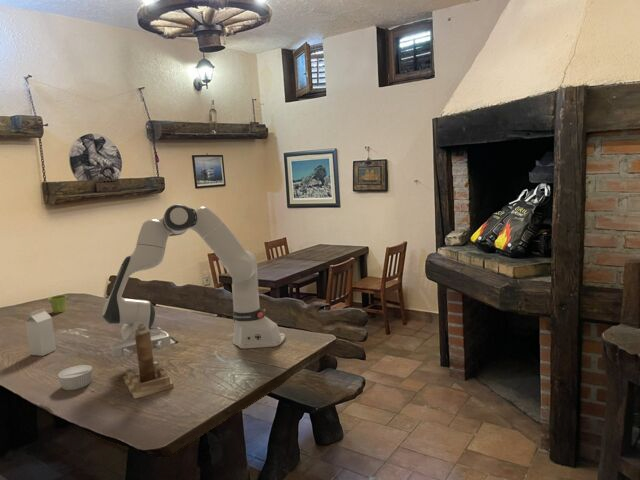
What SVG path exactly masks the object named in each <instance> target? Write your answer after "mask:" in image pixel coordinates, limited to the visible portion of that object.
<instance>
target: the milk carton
mask: <svg viewBox="0 0 640 480" xmlns="http://www.w3.org/2000/svg"><path fill="white" fill-rule="evenodd" d="M24 323H25V329H26V330H25V331H26V335H27V343H28V349H29V355H31V356H41V357H43V356H45V355H49V354H50V353H52V352H55V351H56V350H57V345H56V340H55V339H56V337H55V332H54V325H53V317H52V316H51V315H50V314H49V313H48V312H47V311H46V309H45V307H44V308H40V309H37V310H35V311H32V312H29V316H28V317H27V318H26V320H25V321H24Z"/></svg>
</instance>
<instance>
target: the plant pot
mask: <svg viewBox="0 0 640 480" xmlns="http://www.w3.org/2000/svg"><path fill="white" fill-rule="evenodd" d="M67 297H68V295H64V294H63V295H62V294H61V295H54V296H50V297H48V299H47V300H48V301H49V303H50V307H51V308H52V312H53V314H59V313H63V312H66V301H67Z"/></svg>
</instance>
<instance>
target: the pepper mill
mask: <svg viewBox="0 0 640 480" xmlns="http://www.w3.org/2000/svg"><path fill="white" fill-rule="evenodd" d="M135 332H136V334H135V340H136V348H137V353H136V355H137V357H136V358H137V363H138V373H139V374H140V382H142V383H144V382H148V381H151V380H155V371H154V362H155V361H154V354H153V349H152V345H151V336H150V332H149V328H147V327H145V325H144V324H140V325H139V326H138V329H136V330H135Z"/></svg>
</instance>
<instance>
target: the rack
mask: <svg viewBox="0 0 640 480" xmlns="http://www.w3.org/2000/svg"><path fill="white" fill-rule="evenodd" d="M153 362H154V371H155V380H151V381H148V382H144V383H142V382H140V374H139V372H136V373H134V372H133V371H132V369H131V368H130V367H129V368H126V369H125V373H126V374H125V376H123V381H124V383H125V385H126V386H127V389H128V391H129V392H130V394H131V395H132V397H133V399H138V398H141V397H146V396H149V395H152V394H156V393H159V392H163V391H166V390H169V389H173V388H174V387H175V385H174V382H173V381H172V380H171V378H170V376H169V375H168V374H167V372H166V371H165V370H164V368H163V367H162V366H161V365H160V364H159V362H158V361H153Z"/></svg>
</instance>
